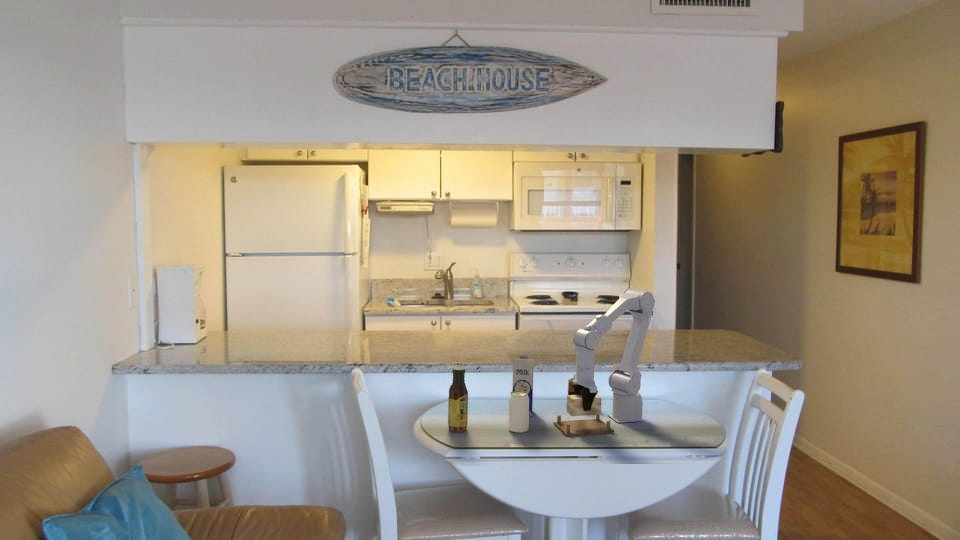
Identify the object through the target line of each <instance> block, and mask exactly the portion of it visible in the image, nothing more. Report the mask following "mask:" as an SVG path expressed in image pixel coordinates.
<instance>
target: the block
mask: <svg viewBox="0 0 960 540" xmlns="http://www.w3.org/2000/svg"><path fill="white" fill-rule="evenodd" d="M566 413H567V414H568V415H569V416H571V417H579V416H580V417H581V416H594V415H595V416H596V415H598V414H600V415H601V414H602V397H601V396H600V395H599V394H597V395H596V396H595V398H594V400H593V403H592V407H591V410H590V411H584V410H583V402H582V396H581V395H568V394H567V395H566Z"/></svg>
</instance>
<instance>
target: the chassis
mask: <svg viewBox="0 0 960 540" xmlns="http://www.w3.org/2000/svg"><path fill="white" fill-rule="evenodd" d="M556 417H557V418H556V421H553V423H552V424H553V426H555V428H557V429H558V430H559V431H560V432H561V433H562V434H563V436H565V437H575V436H586V435H600V434H613V433H612V432H614V433H615V429H614V428H612V427H611V420H606V422H605V421H603V420H602V419H601V418H600V417H601V414H598V415H595V418H589V419H576V420H575V419H574V420H563V421H562V415H560V414H558V415H557V416H556Z"/></svg>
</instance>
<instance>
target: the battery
mask: <svg viewBox="0 0 960 540" xmlns="http://www.w3.org/2000/svg"><path fill="white" fill-rule="evenodd" d="M572 380H573V377H572V378H570V379H568V381H567V395H575V392H574V389H573V387H572V384H574V383H573V382H572Z"/></svg>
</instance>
